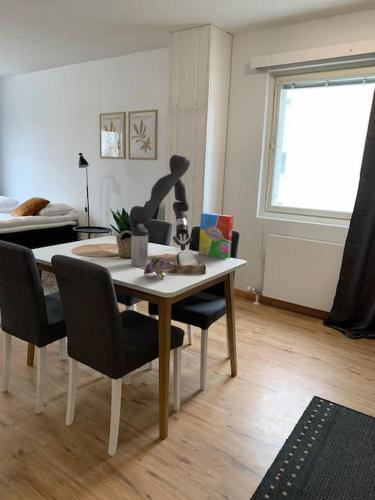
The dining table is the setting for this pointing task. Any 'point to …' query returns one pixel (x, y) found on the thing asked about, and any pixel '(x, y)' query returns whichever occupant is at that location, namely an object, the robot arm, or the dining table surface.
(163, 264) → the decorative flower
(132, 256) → the robot arm
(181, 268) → the hinge pocket
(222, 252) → the game box
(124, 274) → the dining table surface
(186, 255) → the grey rounded block
